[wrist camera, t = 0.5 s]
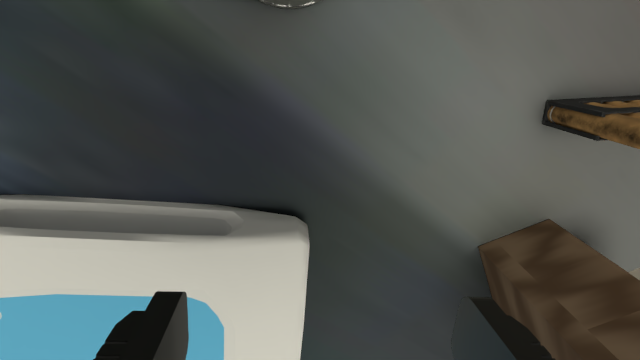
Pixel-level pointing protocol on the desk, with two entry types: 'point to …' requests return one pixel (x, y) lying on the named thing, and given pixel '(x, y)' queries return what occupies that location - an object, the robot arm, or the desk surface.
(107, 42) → the desk surface
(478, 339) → the robot arm
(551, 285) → the keypad console
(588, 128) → the ammunition clip
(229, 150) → the desk surface
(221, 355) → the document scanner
